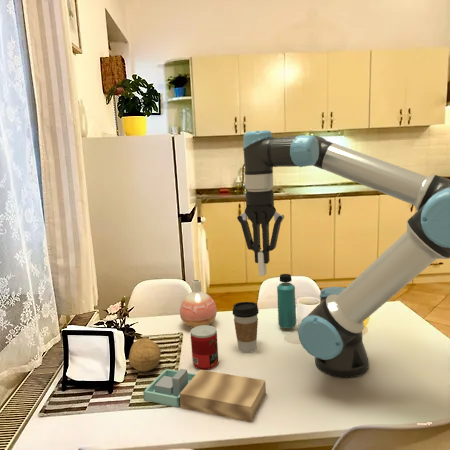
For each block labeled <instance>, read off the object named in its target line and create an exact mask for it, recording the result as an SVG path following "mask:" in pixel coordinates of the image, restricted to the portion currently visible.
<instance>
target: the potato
mask: <svg viewBox="0 0 450 450" xmlns="http://www.w3.org/2000/svg"><path fill="white" fill-rule="evenodd" d="M161 355H162V352H161V349H160V346H159V345H158V344H157V342H154V341H153V340H152V339H150V338H147V337H144V338H138V339H136V340H135V341H134V342H133V343H132V345H131V347H130V350H129V355H128V361H129V365H130V366H131V367H132V368H134V369H135V370H137V371H138V372H143V373H144V372H145V373H146V372H150V371H152V370H154V369H155V368H156V367H157V366H158V365H159V363H160V361H161Z"/></svg>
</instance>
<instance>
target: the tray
mask: <svg viewBox="0 0 450 450" xmlns="http://www.w3.org/2000/svg"><path fill="white" fill-rule="evenodd" d="M178 371H179V370H175V369H174V370H173V369H169V368H165V369H164V370H163V371H162V372H161V373H160V374H159V375H158V376H157V377H156V378H155V379H154V380H153V381H152V382H151V383H150V384H149V385H148V386H147V387H146V388H145V389H144V390H143V392H142V393H143V394H142V395H143V400H144V401H146V402H151V403H156V404H161V405H164V406H165V405H166V406H169V407H170V406H171V407H174V408H175V407H176V408H181V403H180V394H179V396H174V395H173V394H172V395H168V394H162V393H157V392H155V386H154V385H155V384H156V383H157V382H158V381H159V380H160V379H161V378H162V377H163V376H168V377H174V375H175V374H176V373H177V372H178ZM196 374H197V373H193V372H188V383H189V382H190V381H191V380H192V378H193V377H194V376H195V375H196Z"/></svg>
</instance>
